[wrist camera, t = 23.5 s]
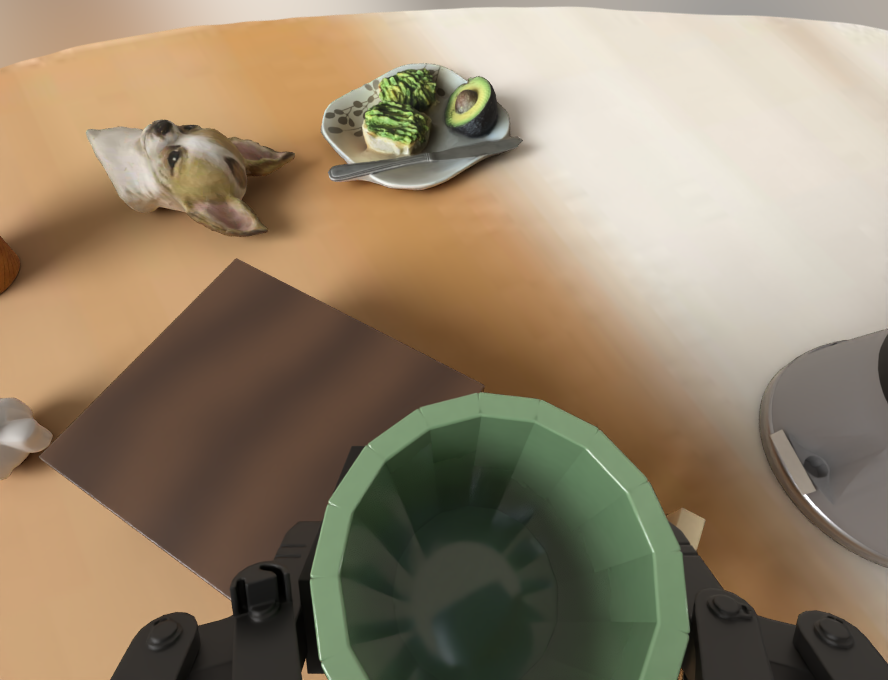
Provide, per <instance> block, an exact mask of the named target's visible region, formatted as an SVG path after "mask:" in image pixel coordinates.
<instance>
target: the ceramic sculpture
mask: <svg viewBox="0 0 888 680" xmlns="http://www.w3.org/2000/svg"><path fill="white" fill-rule="evenodd" d="M86 135H87V138H88V140H89V142H90V144H91V146H92V148H93V150H94V153H95V155H96V157H97V158H98V160H99V161H100V163H101V164H102V166H103V167H104V169H105V170H106V172H107V174H108V176H109V178H110V180H111V181H112V183H113V185H114V187H115V189H116V191H117V193H118V195H119V197H120V198H121V199H122V200H123V201H124V202H125V203H126V204H127V205H128V206H129V207H130V208H131V209H133V210H135V211H138V212H141V213H150V212H154V211H155V210H156V209H157V208H158V207H164V208H168V209H172V210H178V211H182V212H185V213H187V214H188V215H189V216H190V217H191V218H192V219H193V220H195V221H196V222H197V223H200V224H203V225H204V226H205V227H207V228H209V229H211V230H212V231H216V232H219V233H222V234H224V235H227V236H239V237H242V236H251V235H256V234H261V233H266V232H268V228H266V227H265V226H264V225H263V224H262V223H261V222H260V220H259V219H258V217H257V216H256V214H255V212H254V211H253V210H252V209H251V208H250V207H249V206H248V205H247V204H246V203H245V202H243V201H242V200H241V199H242V198H243V196H244V195H245V193H246V188H247V176H266V175H268V174H270V173H272V172H274V171H276V170H278V169H279V168H281V167H282V166H283V165H285V164H286V163H288V162H289V161H291V160H292V159H294V157H295V153H293V152H276V151H274V150H272V149H270V148H268V147H265V146H260V144H259V143H256V142H253V141H251V140H242V139H239V138H237V137H232V138H227V137H226V136H225V135H223V134H222V133H220V132H219V131H217V130H215V129H210V128H206V129H202V128H201V127H200V126H198V125H182V126H177V125H175V124H174V123H172V122H171V121H168V120H157V121H154V122H153V123H152V124H150V125H148V126H147V127H145V128H144V130H142V129H136V128H127V127H116V128H108V129H102V130H96V129H88V130H87V131H86Z"/></svg>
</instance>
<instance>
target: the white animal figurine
mask: <svg viewBox="0 0 888 680" xmlns="http://www.w3.org/2000/svg"><path fill="white" fill-rule="evenodd" d="M52 437H53V435H52V433H51V432H50V431H49V430H47V429H46V428H44V427H43V426H41V425H39V424H38V422H37V421H36V420H35V419H33V412H32V410H31V409H30V408H29V406H27V405H26V404H24V403H23V402H22V401H20V400H18V399H16V398H0V480H3V479H6V478H7V477H9V476H10V474H11V473H12V470H13V469H14V468H15V467H17V466H18V465H19V464H21V463H22V462H23V461H24V460H25V458H26V457H27V456H28V455H29V453H35V452H39V451H42V450H44V449H45V448H47V447H48V446H49V445H50V443H51V440H52Z"/></svg>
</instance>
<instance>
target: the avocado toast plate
mask: <svg viewBox="0 0 888 680" xmlns="http://www.w3.org/2000/svg"><path fill="white" fill-rule="evenodd" d="M321 133H322V135H323V136H324V138H325V139H326V140H327V141H328V143H329V144H330V145H331V146H332V148H333V149H334V150H335V151H336V152H337V153H338V154H339V155H340V156H341V157H342V158H343V159H344V160H345V161H346V162H347V163H348V164H344V165H338V166H333V167H332V168H331V169H330V170H329V172H328V173H329V177H330V179H331V180H332V181H335V182H347V181H353V180H364V181H369V182H373V183H376V184H380V185H383V186H385V187H388V188H395V189H411V190H424V189H428V188H431V187H434V186H436V185H439V184H441V183H444V182H446V181H448V180H449V179H451V178H453V177H455V176H456V175H458V174H459V173H461V172H462V171H464V170H466V169H467V168H469V167H471V166H472V165H474V164H476V163H478V162H480V161H482V160H483V159H486V158H488V157H491V156H494V155H497V154H500V153H503V152H506V151H509V150H512V149H515V148H517V147H518V145H519V144H520V143H521V142H522V141H523V140H522V139H520V138H519V137H511V136H510V119H509V115H508V114H507V111H506V110H505V109H504V108H503V107H502V106H501V105H500V104H499V103H498V102H497V100H496V94H495V92H494V89H493V87H492V85H491V84H490V82H489V81H488V80H486V79H485V78H483V77H480V76H478V77H475V78H469V79H468V81H467V80H465V79H463V78H462V77H461V76H459V75H458V74H457V73H455V72H453V71H452V70H450V69H448V68H445V67H443V66H440V65H435V64H427V63H425V64H424V63H420V64H408V65H404V66H400V67H398V68H395V69H393V70H391V71H389V72H387V73H386V74H384V75H382V76H380V77H378V78H377V79H375V80H373V81H371V82H370V83H367V84H365V85H363V86H362V87H360V88H358V89H356V90H352V91H351V92H349V93H347V94H345V95H343V96H342V97H340V98H338V99H336V100H335V101H333V102H332V103H331V104H330V105H329V106H328V107H327V109H326V111H325V113H324V116H323V121H322V126H321Z"/></svg>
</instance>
